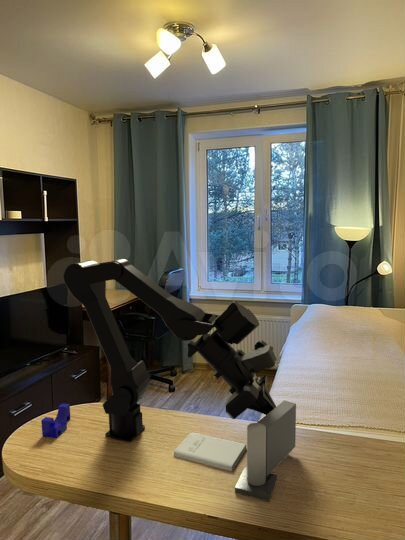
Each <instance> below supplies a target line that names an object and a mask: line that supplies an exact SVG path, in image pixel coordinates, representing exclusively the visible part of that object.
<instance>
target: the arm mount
mask: <svg viewBox="0 0 405 540" xmlns="http://www.w3.org/2000/svg"><path fill="white" fill-rule="evenodd" d="M277 480H278V474H276V473H272V472H271V473H270V474H269V475H268V476H266V482H265V483H264V484H263V485H261V486H254V485H251V484H250V483H249V482H248V481H247V466H246V467H245V466H244V468H243V470H242V473H241V474H240V476H239V478H238V480H237V483H236V485H235V487H234V493H235V494H239V495H242V496H247V497H251V498H254V499H257V500H262V501H266V502H270V501H271V498H272V495H273V492H274V489H275V487H276V484H277Z"/></svg>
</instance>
